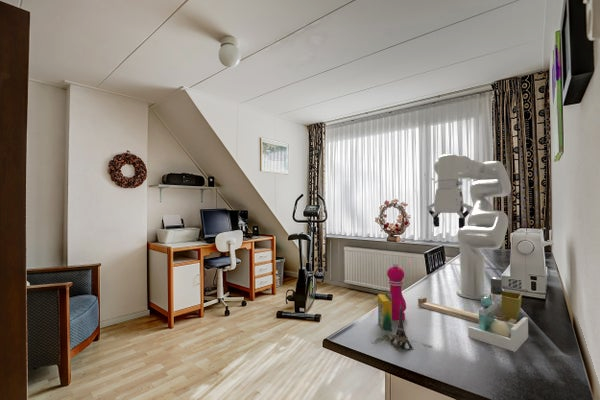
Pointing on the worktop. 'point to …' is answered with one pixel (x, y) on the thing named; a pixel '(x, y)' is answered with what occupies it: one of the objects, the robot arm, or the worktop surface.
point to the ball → (500, 328)
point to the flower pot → (510, 304)
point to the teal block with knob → (491, 306)
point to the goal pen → (517, 336)
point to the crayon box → (385, 311)
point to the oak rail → (452, 310)
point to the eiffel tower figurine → (399, 337)
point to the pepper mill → (396, 291)
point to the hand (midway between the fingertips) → (448, 227)
